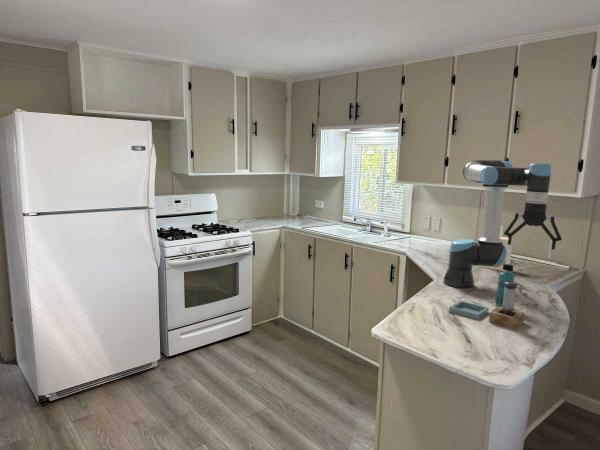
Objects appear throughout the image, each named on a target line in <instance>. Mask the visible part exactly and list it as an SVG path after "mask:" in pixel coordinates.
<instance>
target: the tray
mask: <svg viewBox="0 0 600 450" xmlns="http://www.w3.org/2000/svg"><path fill="white" fill-rule="evenodd" d="M489 311H490V310H489V307H487V306H483V305H481V304H476V303H471V302H468V301H464V300H459V301H457V302H456V303H454V304H452V305H451V306H449V309H448V314H452V313H453V314H454V315H455V314H456V315H460V316H462V317H466V318H471V319H474V320H480V319H481V318H482V317H483V316H485V315H487V314H488V313H489Z"/></svg>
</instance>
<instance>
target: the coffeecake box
mask: <svg viewBox="0 0 600 450" xmlns="http://www.w3.org/2000/svg"><path fill="white" fill-rule="evenodd" d="M500 239H501V240H502V241H503V243H502V244H503V245H505V247H506V257H505V260H504V262H503V263H502V265H500V266H493V267H490V266H479V267H481V268H484V269H485V268H486V269H491V270H494V271H495V270H496V271H499V272H502V271H508V270H504V269H503V265H504V264H509V265H511V258H512V253H510V248H511V245H508V237H505V236H500ZM508 272H509V271H508Z"/></svg>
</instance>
